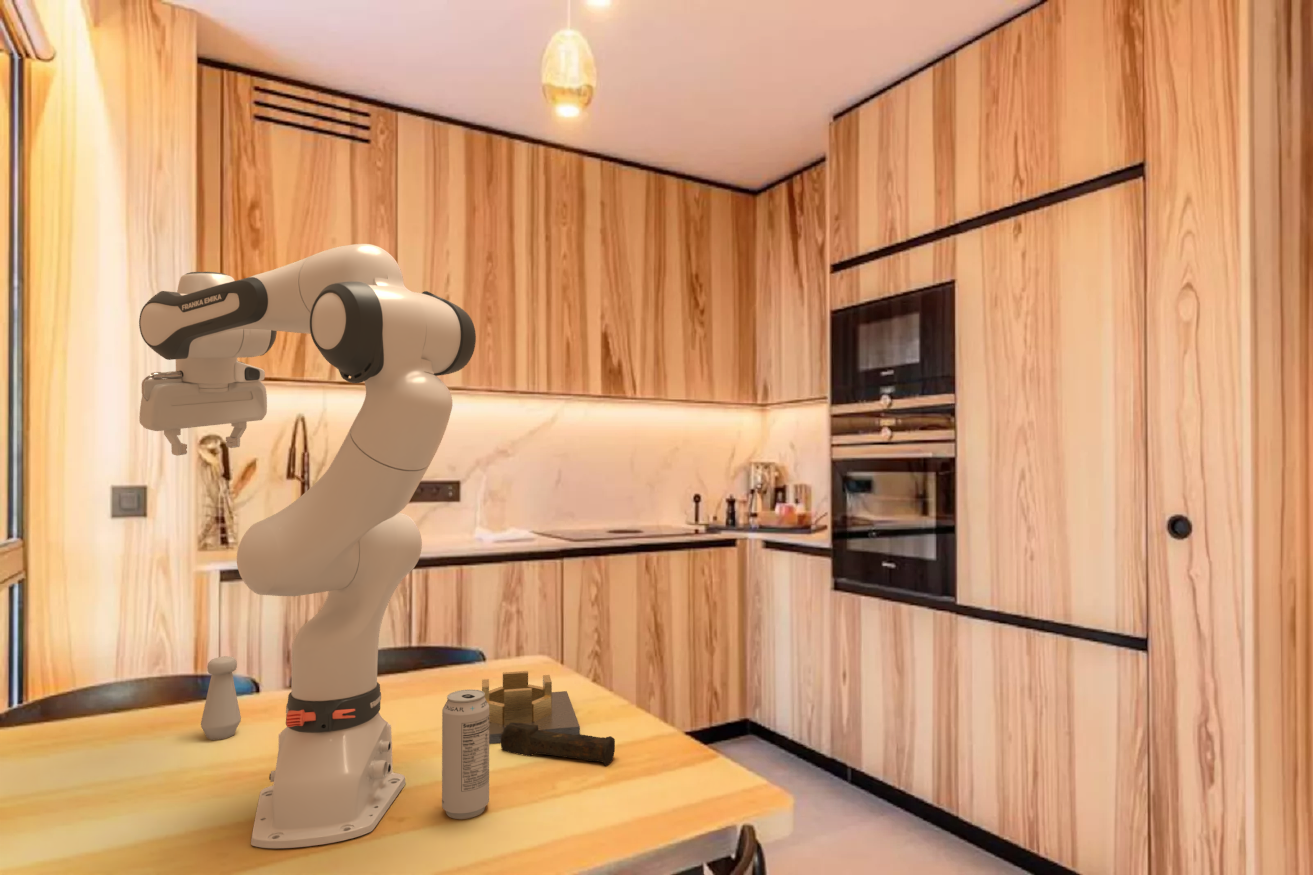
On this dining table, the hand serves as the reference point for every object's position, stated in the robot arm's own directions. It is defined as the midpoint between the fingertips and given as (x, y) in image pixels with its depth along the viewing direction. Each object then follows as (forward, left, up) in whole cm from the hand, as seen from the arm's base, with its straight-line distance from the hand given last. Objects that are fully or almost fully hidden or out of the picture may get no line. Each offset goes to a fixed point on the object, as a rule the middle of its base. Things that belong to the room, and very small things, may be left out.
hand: (207, 450), depth 126 cm
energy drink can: (-38, -44, -48) cm, 76 cm away
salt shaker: (0, -3, -48) cm, 49 cm away
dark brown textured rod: (-23, -57, -49) cm, 78 cm away
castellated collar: (-5, -52, -48) cm, 71 cm away
